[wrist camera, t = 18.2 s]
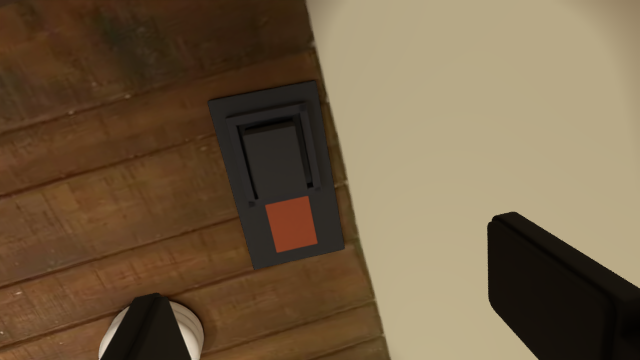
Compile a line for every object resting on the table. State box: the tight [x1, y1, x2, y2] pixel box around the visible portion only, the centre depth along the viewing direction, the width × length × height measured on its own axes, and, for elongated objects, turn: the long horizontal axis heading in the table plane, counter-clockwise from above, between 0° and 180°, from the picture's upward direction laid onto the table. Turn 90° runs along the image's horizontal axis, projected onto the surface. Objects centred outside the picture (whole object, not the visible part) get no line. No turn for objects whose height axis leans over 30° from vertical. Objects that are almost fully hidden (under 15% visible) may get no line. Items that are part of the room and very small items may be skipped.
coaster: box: [99, 301, 204, 360], centre depth 39 cm, size 10×10×4 cm
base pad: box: [208, 80, 345, 270], centre depth 35 cm, size 18×10×2 cm, turn 10°
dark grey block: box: [243, 119, 308, 200], centre depth 33 cm, size 6×4×4 cm
